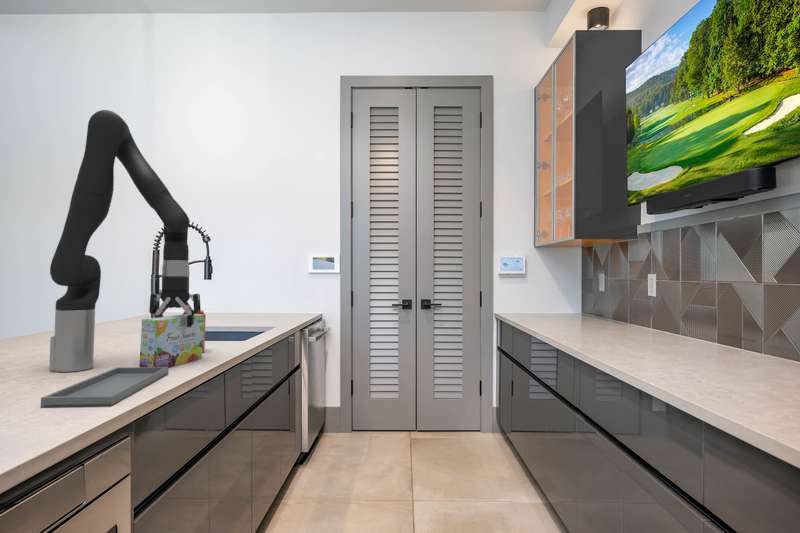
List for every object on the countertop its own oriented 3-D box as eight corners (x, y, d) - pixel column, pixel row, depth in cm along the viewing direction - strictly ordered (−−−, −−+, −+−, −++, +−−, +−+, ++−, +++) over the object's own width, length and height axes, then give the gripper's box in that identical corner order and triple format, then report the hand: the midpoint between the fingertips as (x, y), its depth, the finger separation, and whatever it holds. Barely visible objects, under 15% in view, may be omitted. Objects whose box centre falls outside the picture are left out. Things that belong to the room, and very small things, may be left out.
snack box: (155, 372, 122) (156, 319, 123) (138, 371, 123) (140, 318, 124) (203, 358, 143) (204, 313, 143) (188, 357, 144) (189, 312, 144)
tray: (40, 407, 89) (40, 397, 89) (115, 374, 118) (116, 367, 118) (111, 406, 91) (111, 396, 91) (168, 374, 120) (168, 367, 120)
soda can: (209, 351, 156) (210, 310, 156) (194, 355, 148) (195, 311, 148) (190, 350, 158) (191, 309, 158) (174, 353, 150) (176, 311, 150)
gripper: (145, 275, 129) (145, 329, 129) (195, 275, 131) (194, 328, 130) (156, 275, 136) (156, 326, 136) (203, 275, 138) (203, 325, 138)
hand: (175, 327), depth 133 cm, fingers open, 8 cm apart
